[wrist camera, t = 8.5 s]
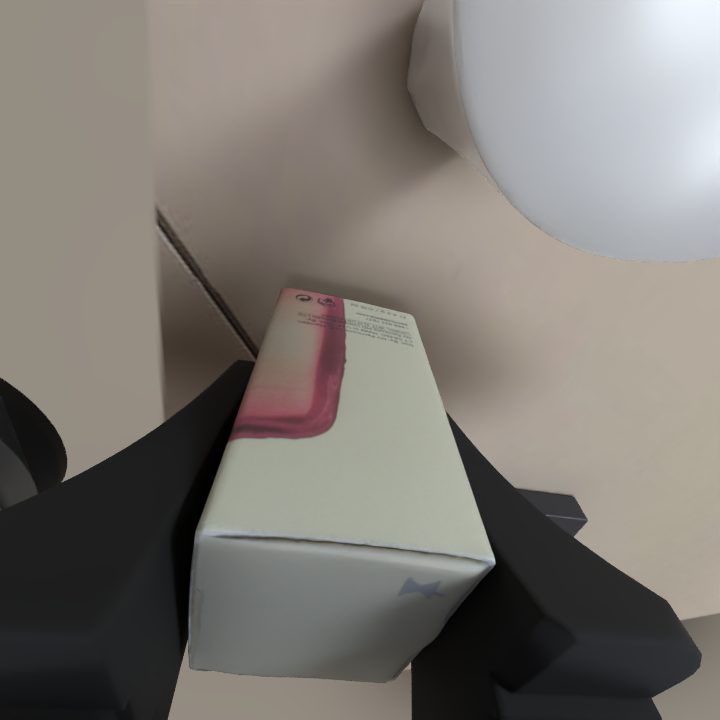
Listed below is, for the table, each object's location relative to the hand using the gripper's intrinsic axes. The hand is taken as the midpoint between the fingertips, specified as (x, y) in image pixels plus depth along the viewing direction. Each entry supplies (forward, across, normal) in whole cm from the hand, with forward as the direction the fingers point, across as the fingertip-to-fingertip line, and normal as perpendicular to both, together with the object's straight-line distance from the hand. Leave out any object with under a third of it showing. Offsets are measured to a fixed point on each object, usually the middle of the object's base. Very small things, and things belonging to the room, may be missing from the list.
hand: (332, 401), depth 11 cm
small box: (+2, 0, 0) cm, 2 cm away
